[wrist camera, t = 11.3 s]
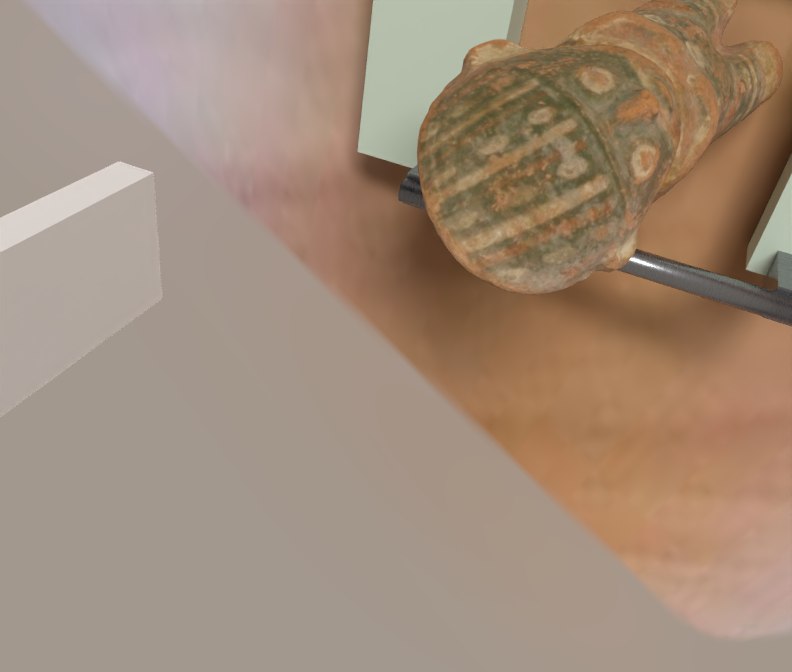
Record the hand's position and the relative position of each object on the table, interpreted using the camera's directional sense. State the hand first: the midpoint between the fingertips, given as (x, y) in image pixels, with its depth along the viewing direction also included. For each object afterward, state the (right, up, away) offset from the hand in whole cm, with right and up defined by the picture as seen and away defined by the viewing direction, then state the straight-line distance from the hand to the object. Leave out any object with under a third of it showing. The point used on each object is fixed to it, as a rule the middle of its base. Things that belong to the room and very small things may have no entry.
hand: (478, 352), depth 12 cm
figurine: (+9, +12, +18) cm, 23 cm away
